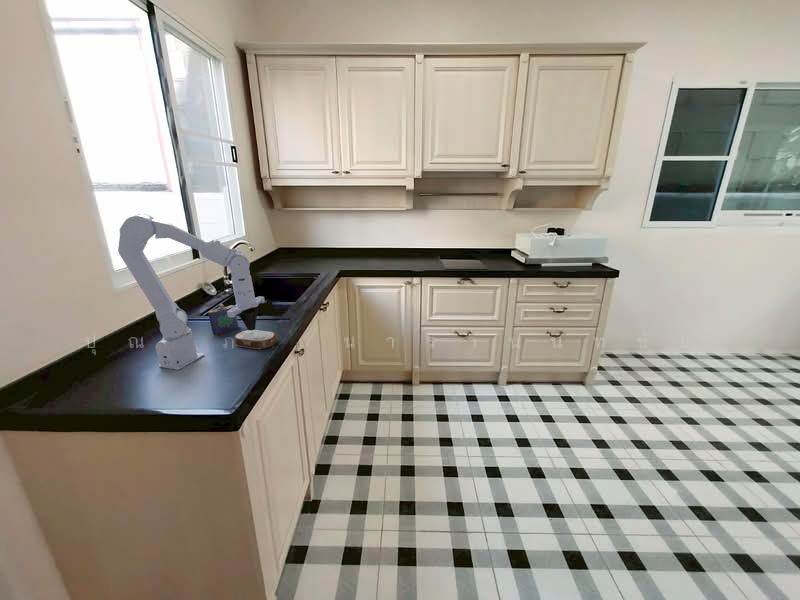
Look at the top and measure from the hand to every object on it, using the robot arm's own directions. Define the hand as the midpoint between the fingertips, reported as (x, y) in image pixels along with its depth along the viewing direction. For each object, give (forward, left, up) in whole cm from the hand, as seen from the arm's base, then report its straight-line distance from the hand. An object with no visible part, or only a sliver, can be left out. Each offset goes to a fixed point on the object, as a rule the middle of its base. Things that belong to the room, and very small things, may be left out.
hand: (251, 329), depth 112 cm
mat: (+2, +1, -5) cm, 6 cm away
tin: (-3, 0, -3) cm, 5 cm away
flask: (+6, +18, -6) cm, 20 cm away
